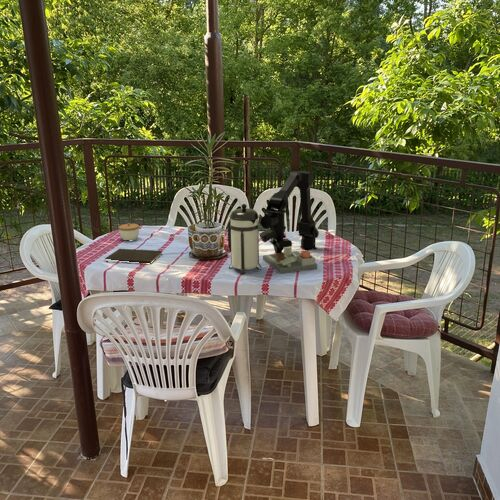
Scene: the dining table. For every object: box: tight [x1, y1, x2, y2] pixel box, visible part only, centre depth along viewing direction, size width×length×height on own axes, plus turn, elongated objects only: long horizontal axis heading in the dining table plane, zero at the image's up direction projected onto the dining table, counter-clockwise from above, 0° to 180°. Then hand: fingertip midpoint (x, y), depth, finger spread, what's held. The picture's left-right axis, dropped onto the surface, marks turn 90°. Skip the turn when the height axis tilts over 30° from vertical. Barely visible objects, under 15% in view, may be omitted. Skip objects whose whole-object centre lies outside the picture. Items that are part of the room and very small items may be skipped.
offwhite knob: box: [283, 246, 293, 256], centre depth 245 cm, size 3×2×4 cm
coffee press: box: [227, 203, 263, 275], centre depth 230 cm, size 17×16×30 cm
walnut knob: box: [276, 251, 284, 262], centre depth 236 cm, size 3×2×4 cm
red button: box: [300, 250, 311, 259], centre depth 233 cm, size 4×4×4 cm
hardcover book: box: [104, 248, 163, 264], centre depth 251 cm, size 16×23×2 cm
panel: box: [262, 250, 318, 275], centre depth 239 cm, size 18×21×5 cm
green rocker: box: [280, 256, 295, 266], centre depth 230 cm, size 6×4×1 cm, turn 109°
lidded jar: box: [118, 222, 140, 241], centre depth 280 cm, size 11×11×9 cm
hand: (277, 256), depth 238 cm, fingers closed
